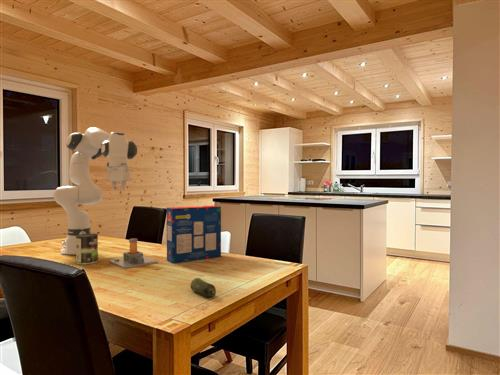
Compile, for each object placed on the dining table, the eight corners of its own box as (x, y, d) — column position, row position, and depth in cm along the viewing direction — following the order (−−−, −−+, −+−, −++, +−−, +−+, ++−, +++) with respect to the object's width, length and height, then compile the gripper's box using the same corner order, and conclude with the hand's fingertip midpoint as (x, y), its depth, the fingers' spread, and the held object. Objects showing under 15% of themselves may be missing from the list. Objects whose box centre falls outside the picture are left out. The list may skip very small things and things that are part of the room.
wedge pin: (127, 260, 177) (127, 239, 177) (135, 259, 180) (135, 238, 180) (131, 261, 174) (131, 240, 174) (139, 260, 177) (139, 239, 177)
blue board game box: (214, 254, 197) (214, 205, 197) (221, 256, 190) (220, 206, 190) (166, 260, 181) (166, 207, 181) (172, 263, 175) (172, 208, 174)
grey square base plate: (108, 262, 178) (108, 252, 177) (141, 257, 190) (141, 248, 190) (123, 268, 164) (123, 258, 164) (157, 262, 177) (157, 253, 177)
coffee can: (102, 260, 182) (102, 233, 182) (89, 265, 172) (89, 236, 172) (85, 259, 184) (84, 233, 184) (71, 264, 174) (71, 236, 174)
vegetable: (188, 291, 132) (188, 278, 132) (200, 288, 135) (200, 275, 135) (206, 301, 121) (206, 287, 120) (219, 298, 124) (219, 284, 124)
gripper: (133, 162, 174) (133, 190, 174) (116, 164, 189) (117, 189, 189) (120, 162, 170) (121, 190, 170) (105, 163, 185) (105, 189, 185)
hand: (118, 190), depth 180 cm, fingers open, 8 cm apart
